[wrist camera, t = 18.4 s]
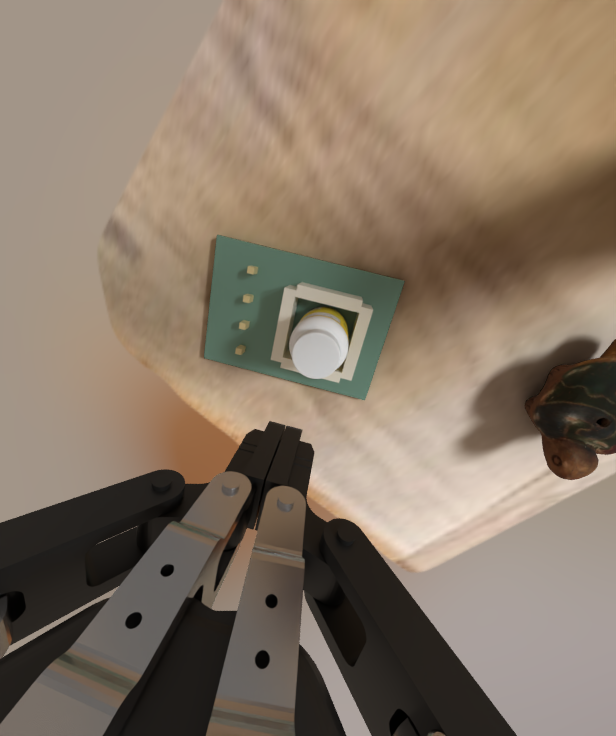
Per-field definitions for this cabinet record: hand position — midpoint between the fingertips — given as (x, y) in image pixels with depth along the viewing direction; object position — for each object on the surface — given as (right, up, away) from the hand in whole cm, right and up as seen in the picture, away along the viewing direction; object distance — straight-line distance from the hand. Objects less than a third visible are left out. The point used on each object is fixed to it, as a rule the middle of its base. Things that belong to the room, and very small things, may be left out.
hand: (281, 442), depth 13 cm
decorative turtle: (+30, +1, +20) cm, 36 cm away
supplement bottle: (+3, +8, +20) cm, 22 cm away
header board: (0, +9, +21) cm, 23 cm away
